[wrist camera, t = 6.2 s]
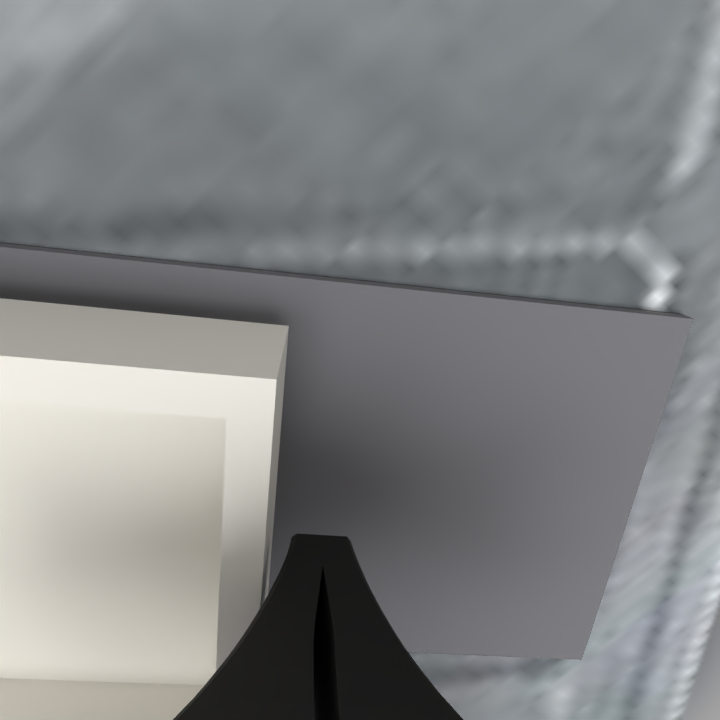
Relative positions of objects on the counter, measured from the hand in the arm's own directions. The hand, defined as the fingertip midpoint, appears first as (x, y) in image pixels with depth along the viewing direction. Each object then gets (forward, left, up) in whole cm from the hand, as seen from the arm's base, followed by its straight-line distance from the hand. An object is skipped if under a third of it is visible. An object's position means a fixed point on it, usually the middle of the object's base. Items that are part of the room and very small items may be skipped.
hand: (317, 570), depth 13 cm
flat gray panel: (0, +2, -4) cm, 4 cm away
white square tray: (0, +6, -4) cm, 7 cm away
